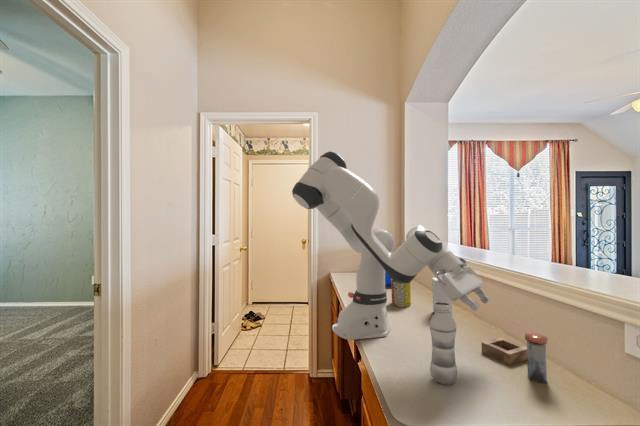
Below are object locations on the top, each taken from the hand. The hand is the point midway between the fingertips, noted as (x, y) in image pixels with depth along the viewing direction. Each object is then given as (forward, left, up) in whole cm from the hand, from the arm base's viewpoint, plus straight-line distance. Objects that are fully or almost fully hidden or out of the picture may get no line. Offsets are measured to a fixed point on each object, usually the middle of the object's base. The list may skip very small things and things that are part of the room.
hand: (482, 305), depth 84 cm
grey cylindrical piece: (+5, -11, -17) cm, 21 cm away
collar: (+10, +1, -17) cm, 20 cm away
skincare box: (+21, +37, -17) cm, 46 cm away
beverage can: (+15, +57, -17) cm, 61 cm away
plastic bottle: (-18, -2, -17) cm, 25 cm away
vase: (+34, +95, -17) cm, 102 cm away
